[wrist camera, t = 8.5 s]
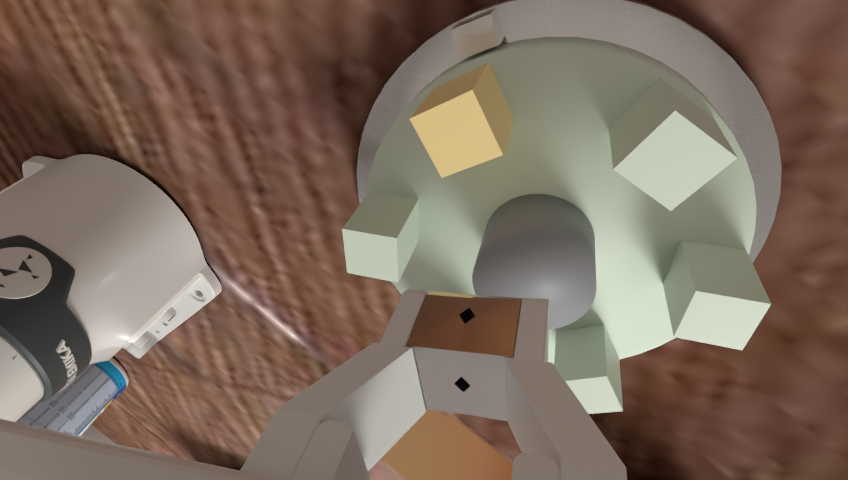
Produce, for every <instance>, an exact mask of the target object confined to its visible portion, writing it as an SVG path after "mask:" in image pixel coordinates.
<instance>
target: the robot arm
mask: <svg viewBox="0 0 848 480" xmlns="http://www.w3.org/2000/svg"><path fill="white" fill-rule="evenodd" d="M22 170H23V176H24V178H22V179H21V180H19V181H17V182H16V183H14V184H12V185H11V186H9V187H7V188H6V189H4V190H2V191H1V192H0V480H371V479H370V476H369V473H368V471H369V470H370V469H371V468H372V467H373V466H374V465H375V464H376V463H377V462H378V461H379V460H380V459H381V458H382V457H383V455H384V454H385V453H386V452H387V451H388V450H389V449H390V448H391V447H392V446H393V445H394V444H395V443H396V442H397V441H398V440H399V439H400V438H401V437H402V436H403V435H404V434H405V433H406V432H407V431H408V430H409V429H410V428H411V427H412V425H413V424H415V423H416V422H417V420H418V419H419V418H420V417H421V416H422V415H423V414H424V413H425V412H426V409H428V410H436V411H445V412H453V413H461V414H469V415H474V416H480V417H486V418H491V419H497V420H503V421H508V422H509V426H510V428H511V430H512V432H513V434H514V437H515V439H516V441H517V443H518V445H519V448H520V450H521V452H522V453H521V454H520V455H518V456H517V457H515V458H514V463H513V470H512V478H511V480H627V472H626V467H625V465H624V464H623V462H622V461H621V460H620V458H619V457H618V455H617V454H616V452H615V451H614V450H613V448H612V447H611V445H610V444H609V443H608V441H607V440H606V438H605V437H604V435H603V434H602V433H601V431H600V430H599V428H598V427H597V425H596V424H595V423H594V421H593V420H592V418H591V417H590V416H589V414H588V413H587V411H586V410H585V408H584V407H583V406H582V404H581V403H580V401H579V400H578V399H577V397H576V396H575V394H574V393H573V391H572V390H571V389H570V387H569V386H568V384H567V383H566V381H565V380H564V379H563V377H562V376H561V374H560V373H559V372H558V370H557V369H556V367H555V366H554V364H553V363H551V362H548V343H549V300H548V299H540V298H515V297H499V296H484V295H469V294H459V293H448V292H438V291H422V290H412V289H407V290H405V291H404V292H403V293H402V295H401V297H400V299H399V301H398V304H397V306H396V308H395V310H394V312H393V315H392V317H391V319H390V321H389V323H388V325H387V328H386V330H385V332H384V334H383V336H382V339H381V341H380V343H379V344H376V343H372V344H371V345H369V346H368V347H366V348H365V349H363V350H362V351H360V352H359V353H358V354H356V355H355V356H353V357H352V358H350V359H349V360H347V361H346V362H345V363H343V364H342V365H340V366H339V367H337V368H336V369H334V370H333V371H331V372H330V373H329V374H327V375H326V376H324V377H323V378H321V379H320V380H318V381H317V382H316V383H314V384H313V385H311V386H310V387H308V388H307V389H305V390H304V391H302V392H301V393H300V394H298V395H297V396H295V397H294V398H292V399H291V400H289V401H288V402H287V403H285V404H284V405H282V406H281V407H279V408H278V409H277V410H276V412H275V413H274V415H273V417H272V418H271V420H270V422H269V423H268V425H267V426H266V428H265V430H264V431H263V433H262V435H261V436H260V438H259V440H258V441H257V443H256V445H255V446H254V448H253V450H252V451H251V453H250V455H249V456H248V458H247V460H246V461H245V463H244V465H243V466H242V468H241V470H235V469H230V468H226V467H221V466H216V465H212V464H207V463H202V462H198V461H193V460H189V459H184V458H179V457H175V456H170V455H165V454H161V453H156V452H151V451H147V450H142V449H138V448H133V447H128V446H124V445H119V444H114V443H110V442H105V441H100V440H96V439H91V438H86V437H82V436H77V435H73V434H68V433H63V432H59V431H54V430H49V429H45V428H40V427H36V426H31V425H26V424H22V423H17V422H16V421H17V420H18V419H19V418H20V417H22V416H23V415H24V414H25V413H26V412H27V411H28V410H29V409H30V408H31V407H32V406H33V405H35V404H37V403H42V402H45V401H47V400H49V399H50V398H51V397H52V396H54V395H55V394H56V393H58V392H60V391H62V390H63V389H65V388H66V387H67V386H68V385H69V384H71V383H72V381H74V379H75V378H76V377H77V376H78V375H79V374H81V373H82V372H83V371H84V370H85V369H86V368H87V366H88V365H89V364H93V363H98V362H103V361H108V360H110V359H111V358H112V357H113V356H114V355H115V354H116V353H117V352H118V351H119V350H120V349H121V348H122V347H123V348H124V349H127V351H128V352H129V353H131V354H132V355H133V356H135V357H136V358H139V359H140V358H141V357H142V356H143V355H144V354H145V353H146V352H147V351H148V350H149V349H150V348H151V347H152V346H153V345H154V344H155V343H156V342H158V341H159V340H161V339H162V338H163V337H165V336H166V335H167V334H168V333H170V332H171V331H172V330H174V329H175V328H176V327H177V326H179V325H180V324H181V323H183V322H184V321H185V320H187V319H188V318H189V317H190V316H192V315H193V314H194V313H196V312H197V311H198V310H200V309H201V308H202V307H203V306H205V305H206V304H207V303H209V302H210V301H211V300H212V299H214V298H215V297H216V296H217V295H218V294H220V293H221V291H222V287H221V284H220V282H219V280H218V279H217V277H216V276H215V274H214V273H213V272H212V270H211V269H210V267H209V266H208V265H207V263H206V261H205V258H204V256H203V252H202V249H201V246H200V243H199V240H198V238H197V236H196V234H195V232H194V230H193V228H192V226H191V225H190V223H189V221H188V220H187V218H186V217H185V216H184V214H183V213H182V212H181V210H180V209H179V208H178V207H177V206H176V204H175V203H174V202H173V201H172V200H171V199H170V198H169V197H168V196H167V195H166V194H165V193H164V192H163V191H162V190H161V189H160V188H158V187H157V186H156V185H155V184H154V183H152V182H151V181H150V180H148V179H147V178H146V177H144V176H143V175H141V174H140V173H138V172H137V171H135V170H133V169H131V168H130V167H128V166H126V165H124V164H122V163H120V162H117V161H115V160H112V159H109V158H106V157H103V156H98V155H92V154H80V155H74V156H71V157H68V158H65V159H59V160H57V159H53V158H49V157H44V156H33V157H32V158H30V159H28V160H27V161H25V162H24V163H23V164H22Z"/></svg>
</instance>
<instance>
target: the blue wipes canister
mask: <svg viewBox="0 0 848 480" xmlns="http://www.w3.org/2000/svg"><path fill="white" fill-rule="evenodd" d="M127 385H128V376H127V373H126V371H125V370H124V368H123V367H122V366H121V365H120V364H119V363H118V362H117V361H116V360H115V359H114V358H111V359H110V360H108V361H103V362H98V363H93V364H89V365H88V366H87V368H86V369H85V370H84V371H83V372H82V373H81V374H79V375H78V376H77V377H76V378H75V379H74V381H72V383H71V384H69V385H68V386H67V387H66V388H65V389H63V390H62V391H60V392H58V393H56V394H55V395H54V396H52V397H51V398H50V399H49V400H47V401H45V402H42V403H37V404H35V405H33V406H32V407H31V408H30V409H29V410H28V411H27V412H26V413H25V414H24V415H23V416H22V417H20V418H19V419H18V420H17V421H16V422H17V423H22V424H26V425H31V426H36V427H40V428H45V429H49V430H54V431H59V432H63V433H68V434H73V435H77V436H81V435H82V434H83V432H84V431H85V430H86V429H87V428H88V427H89V426H90V425H91V424H92V423H93V422H94V421H95V420H96V418H97V417H98V416H99V415H100V414H101V413H102V412H103V411H104V410H105V409H106V408H107V407H108V406H109V405H110V403H111V402H112V401H113V400H114V399H115V398H116V397H117V396H118V395H119V394H120V393H121V392H122V391H123V390H124V389H125V388H126V387H127Z"/></svg>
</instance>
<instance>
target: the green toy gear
mask: <svg viewBox="0 0 848 480" xmlns="http://www.w3.org/2000/svg"><path fill="white" fill-rule="evenodd" d="M756 209H757V206H756V198H755V190H754V182H753V179H752V176H751V173H750V170H749V166H748V163H747V160H746V158H745V156H744V154H743V152H742V150H741V148H740V146H739V144H738V143H737V141H736V139H735V137H734V135H733V133H732V132H731V130H730V129H729V127H728V126H727V124H726V123H725V121H724V119H723V118H722V116H721V115H720V114H719V112H718V111H717V110H716V109H715V107H714V106H713V105H712V104H711V102H710V101H709V100H708V99H707V97H706V96H705V95H704V94H703V93H702V92H701V91H700V90H698V89H697V88H696V87H695V86H694V85H693V84H692V83H691V82H690V81H689V80H687V79H686V78H685V77H684V76H682V75H681V74H679V73H678V72H676V71H675V70H673V69H672V68H670V67H669V66H667V65H665V64H664V63H662V62H661V61H659V60H656V59H654V58H652V57H650V56H648V55H645V54H643V53H641V52H639V51H637V50H635V49H631V48H628V47H624V46H621V45H617V44H614V43H611V42H607V41H601V40H594V39H588V38H581V37H540V38H533V39H525V40H518V41H514V42H510V43H506V44H503V45H499V46H495V47H492V48H490V49H487V50H484V51H482V52H479V53H477V54H475V55H472V56H470V57H467V58H465V59H464V60H462V61H460V62H459V63H457V64H455V65H454V66H452V67H450V68H448V69H447V70H445V71H444V72H442V73H441V74H440V75H439V76H437V77H436V78H435V79H434V80H432V81H431V82H430V83H429V84H427V85H426V86H425V87H424V88H423V89H422V90H421V91H420V92H419V93H418V95H417V96H416V97H415V98H414V99H413V100H412V101H411V102H410V103H409V104H408V105H407V107H406V108H405V109H404V110H403V111H402V112H401V114H400V115H399V116H398V117H397V118H396V120H395V121H394V123H393V124H392V126H391V127H390V129H389V130H388V131H387V133H386V134H385V136H384V138H383V140H382V142H381V144H380V146H379V148H378V150H377V152H376V154H375V157H374V161H373V164H372V167H371V170H370V174H369V180H368V187H367V193H366V197H365V199H364V200H363V201H362V203H361V204H360V205H359V207H358V208H357V209H356V211H355V212H354V213H353V215H352V216H351V218H350V219H349V220H348V222H347V223H346V224H345V226H344V227H343V228H342V231H343V240H344V249H345V258H346V267H347V273H351V274H356V275H361V276H367V277H372V278H377V279H382V280H387V281H392V283H393V284H394V285H395V287H396V288H397V289H398V291H399V292H400V293H401V295H402V293H403V292H404V291H405V290H407V289H412V290H422V291H438V292H448V293H459V294H469V295H484V296H499V297H515V298H540V299H548V300H549V343H548V362H551V363H553V364H554V366H555V367H556V369H557V370H558V372H559V373H560V374H561V376H562V377H563V379H564V380H565V381H566V383H567V384H568V386H569V387H570V389H571V390H572V391H573V393H574V394H575V396H576V397H577V399H578V400H579V401H580V403H581V404H582V406H583V407H584V408H585V410H586V411H587V413H588V414H594V413H607V412H620V411H623V402H622V389H621V376H620V363H619V359H623V358H627V357H630V356H634V355H638V354H640V353H643V352H646V351H648V350H651V349H653V348H656V347H659V346H660V345H662V344H664V343H666V342H668V341H670V340H672V339H674V338H676V337H677V338H682V339H687V340H692V341H697V342H702V343H708V344H713V345H718V346H723V347H728V348H733V349H738V350H743V348H744V347H745V345H746V344H747V342H748V340H749V339H750V337H751V336H752V334H753V332H754V331H755V329H756V328H757V326H758V324H759V323H760V321H761V320H762V318H763V316H764V315H765V313H766V312H767V310H768V309H769V307H770V305H771V302H770V300H769V298H768V296H767V294H766V292H765V290H764V287H763V285H762V283H761V281H760V279H759V277H758V275H757V272H756V270H755V268H754V266H753V264H752V262H751V260H750V257H749V253H750V249H751V245H752V241H753V237H754V233H755V225H756Z"/></svg>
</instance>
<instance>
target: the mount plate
mask: <svg viewBox="0 0 848 480" xmlns="http://www.w3.org/2000/svg"><path fill="white" fill-rule="evenodd" d="M540 37H581V38H588V39H594V40H601V41H607V42H611V43H614V44H617V45H621V46H624V47H628V48H631V49H635V50H637V51H639V52H641V53H643V54H645V55H648V56H650V57H652V58H654V59H656V60H659V61H661V62H662V63H664V64H665V65H667V66H669V67H670V68H672V69H673V70H675V71H676V72H678V73H679V74H681V75H682V76H684V77H685V78H686V79H687V80H689V81H690V82H691V83H692V84H693V85H694V86H695V87H696V88H697V89H698V90H700V91H701V92H702V93H703V94H704V95H705V96H706V97H707V99H708V100H709V101H710V102H711V104H712V105H713V106H714V107H715V109H716V110H717V111H718V112H719V114H720V115H721V116H722V118H723V119H724V121H725V123H726V124H727V126H728V127H729V129H730V130H731V132H732V133H733V135H734V137H735V139H736V141H737V143H738V144H739V146H740V148H741V150H742V152H743V154H744V156H745V158H746V160H747V163H748V166H749V170H750V173H751V176H752V179H753V182H754V190H755V198H756V206H757V209H756V225H755V233H754V237H753V241H752V245H751V249H750V253H749V257H750V260H751V262H752V263H753V261H754V260H755V258H756V257H757V255H758V253H759V252H760V250H761V248H762V247H763V245H764V243H765V241H766V238H767V236H768V234H769V231H770V229H771V226H772V224H773V222H774V218H775V214H776V210H777V205H778V201H779V197H780V186H781V160H780V152H779V144H778V138H777V135H776V132H775V129H774V126H773V123H772V120H771V117H770V114H769V111H768V109H767V107H766V106H765V104H764V102H763V100H762V98H761V96H760V95H759V93H758V91H757V89H756V87H755V85H754V84H753V83H752V81H751V80H750V79H749V78H748V77H747V75H746V74H745V73H744V72H743V70H742V69H741V68H740V67H739V65H738V64H737V63H736V62H735V60H734V59H733V58H732V57H731V56H730V55H729V54H728V53H727V52H726V51H724V50H723V49H722V48H721V47H720V46H719V45H718V44H716V43H715V42H714V41H713V40H712V39H711V38H709V37H708V36H707V35H706V34H705V33H703V32H702V31H700V30H699V29H697V28H695V27H694V26H692V25H690V24H689V23H687V22H686V21H684V20H682V19H681V18H679V17H677V16H676V15H673V14H671V13H668V12H666V11H664V10H661V9H659V8H656V7H654V6H652V5H649V4H647V3H644V2H640V1H636V0H505V1H502V2H499V3H496V4H493V5H490V6H487V7H484V8H481V9H479V10H477V11H475V12H473V13H471V14H469V15H467V16H465V17H463V18H461V19H459V20H457V21H455V22H453V23H451V24H450V25H448V26H447V27H445V28H444V29H442V30H441V31H440V32H438V33H437V34H435V35H434V36H432V37H431V38H429V39H428V40H427V41H426V42H425V43H424V44H422V45H421V46H420V47H419V48H418V49H417V50H416V51H415V52H414V53H413V54H412V55H411V56H409V57H408V58H407V59H406V60H405V61H404V62H403V63H402V64H401V65H400V67H399V68H398V69H397V70H396V72H395V73H394V74H393V75H392V77H391V78H390V79H389V80H388V81H387V83H386V84H385V86H384V88H383V89H382V91H381V93H380V94H379V96H378V98H377V99H376V101H375V103H374V104H373V107H372V109H371V112H370V114H369V117H368V119H367V121H366V124H365V126H364V130H363V134H362V138H361V142H360V146H359V153H358V163H357V188H358V196H359V201H360V204H361V203H362V201H363V200H364V199H365V197H366V193H367V187H368V180H369V174H370V170H371V167H372V164H373V161H374V157H375V154H376V152H377V150H378V148H379V146H380V144H381V142H382V140H383V138H384V136H385V134H386V133H387V131H388V130H389V129H390V127H391V126H392V124H393V123H394V121H395V120H396V118H397V117H398V116H399V115H400V114H401V112H402V111H403V110H404V109H405V108H406V107H407V105H408V104H409V103H410V102H411V101H412V100H413V99H414V98H415V97H416V96H417V95H418V93H419V92H420V91H421V90H422V89H423V88H424V87H425V86H426V85H427V84H429V83H430V82H431V81H432V80H434V79H435V78H436V77H437V76H439V75H440V74H441V73H442V72H444V71H445V70H447V69H448V68H450V67H452V66H454V65H455V64H457V63H459V62H460V61H462V60H464V59H465V58H467V57H470V56H472V55H475V54H477V53H479V52H482V51H484V50H487V49H490V48H492V47H495V46H499V45H503V44H506V43H510V42H514V41H518V40H525V39H533V38H540Z"/></svg>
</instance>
